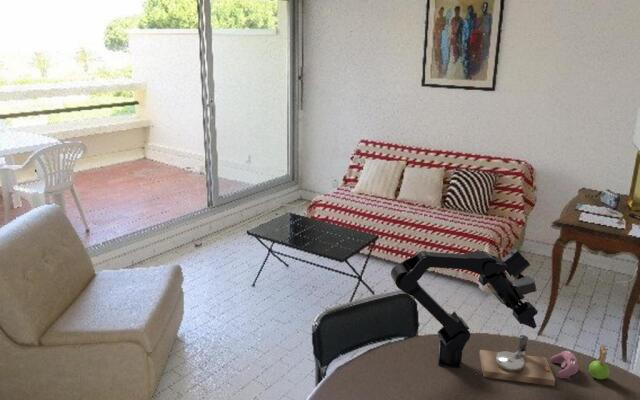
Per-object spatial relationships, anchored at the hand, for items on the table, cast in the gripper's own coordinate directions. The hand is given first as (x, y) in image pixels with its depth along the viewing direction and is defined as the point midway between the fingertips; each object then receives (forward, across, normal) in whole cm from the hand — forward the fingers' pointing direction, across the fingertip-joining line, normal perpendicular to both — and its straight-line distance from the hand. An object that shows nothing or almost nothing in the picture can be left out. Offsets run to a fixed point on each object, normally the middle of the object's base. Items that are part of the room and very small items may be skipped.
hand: (528, 320), depth 158 cm
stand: (+7, -6, +13) cm, 16 cm away
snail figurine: (+22, -11, -5) cm, 26 cm away
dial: (+5, -5, +11) cm, 14 cm away
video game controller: (+17, -7, +2) cm, 19 cm away
